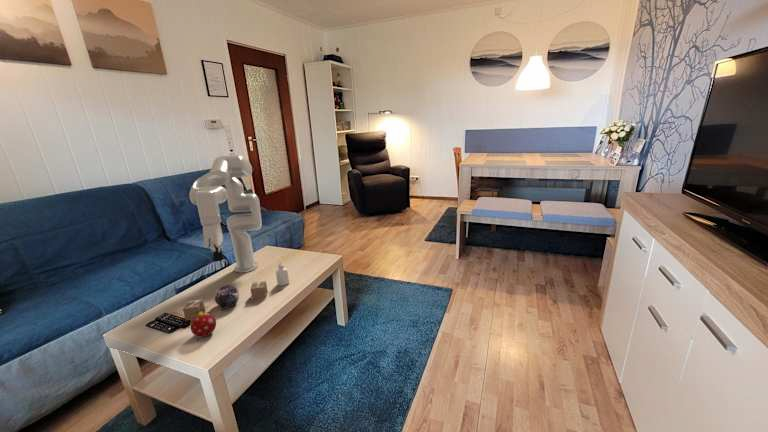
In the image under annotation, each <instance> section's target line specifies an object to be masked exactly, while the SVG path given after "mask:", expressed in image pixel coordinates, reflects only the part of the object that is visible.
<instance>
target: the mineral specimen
mask: <svg viewBox="0 0 768 432" xmlns="http://www.w3.org/2000/svg"><path fill="white" fill-rule="evenodd" d="M239 296H240V293H239V290H238V289H237V287H236V286H235V285H234V284H232V283H231V284H228V285H224V286H221V287H218V289H217V290H216V292H215V294H214V302H215V303H216V304H217V306H218V307H219V308H220V309H221V310H225V309H227V308H229V307H232V306H235V305H236V304H237V303H238V301H239V298H240V297H239Z"/></svg>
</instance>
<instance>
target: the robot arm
mask: <svg viewBox="0 0 768 432" xmlns="http://www.w3.org/2000/svg"><path fill="white" fill-rule="evenodd" d="M252 173H253V167H252V165H251V163H250V161H249V160H248V159H247V158H245V157H244V156H242V155H222V156H218V157H216V158H215V159H214V160H213V163H212V166H211V168H210V171H209V172H207V173H205V174H204V175H202V176H200V177H198V178H197V179H196V180H194V182H193V183H192V185H191V187H190V190H189V193H188V194H189V200H190V202H191V203H192V204H193V205H195V206H197V210H198V216H199V219H200V220H199V221H200V225H201V226H202V234H203V241H204V247H205V248H206V249H209V248H210V251H211V253H212V255H213V260H214V262H222V261H223V260H224V254H223V248H222V243H223V241H224V233H223V230H222V226H221V223H222V218H221V213H220V211H221V210H220V207H219V205H220V204H224V203H225V202H226V201H227V208H228V210H229V211H230V212H232V213H237V214H233V215H230V216H228V217H227V219H226V226H227V227H226V228H227V230H228V232H229V235H230V239H231V243H232V248H233V253H234V254H233V255H234V259H235V263H236V265H235V266H234V268H233V270H234V272H236V273H239V274H240V273H241V274H243V273H248V272H252V271H254V270H255V269H257V268H258V267H259V263H258V262H257V261H256V260H255V256H254V250H253V244H252V238H251V235H249V233H248V232H251V231H252V232H253V231H258V230H260V229H261V228H262V227H263V226H262V213H261V206H260V205H261V204H260V198H259V197H258V195H257V194H256V193H245V191H244V185H243V183H242V182H241V181H240V180H239V179H238V178H247V177H250V176H252ZM223 186H225V187H223ZM241 212H251V213H241ZM238 213H239V214H238Z"/></svg>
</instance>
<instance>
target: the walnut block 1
mask: <svg viewBox="0 0 768 432" xmlns="http://www.w3.org/2000/svg"><path fill="white" fill-rule="evenodd" d="M250 293H251V294H250V295H251V300H252V301H257V300H263V299H264V300H265V299H267V297H268V286H267V280H264V281H258V282H257V281H256V282H252V284H251V287H250Z"/></svg>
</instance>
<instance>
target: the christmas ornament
mask: <svg viewBox="0 0 768 432" xmlns="http://www.w3.org/2000/svg"><path fill="white" fill-rule="evenodd" d="M216 325H217V320H216V318H215V316H213V315H212V314H211V313H207V312H205V313H202V312H199V315H198V316H196V317H195V318H194V319H193V320H191V322H190V331H191V333H192V334H193V335H194V336H196V337H197V338H198V337H199V338H200V337H201V338H202V337H203V338H205V337H207V336H209V335H211V334H212V333H213V332H214V331H215V329H216Z"/></svg>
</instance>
